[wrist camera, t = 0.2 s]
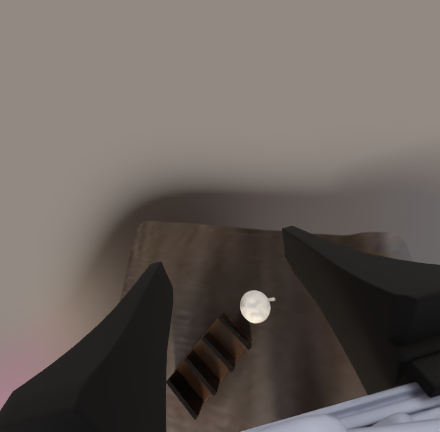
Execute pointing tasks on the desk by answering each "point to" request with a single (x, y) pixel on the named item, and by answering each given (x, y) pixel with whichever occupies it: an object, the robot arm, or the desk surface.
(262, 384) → the desk surface
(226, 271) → the desk surface
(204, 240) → the desk surface
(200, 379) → the letter rack
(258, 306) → the milkshake
